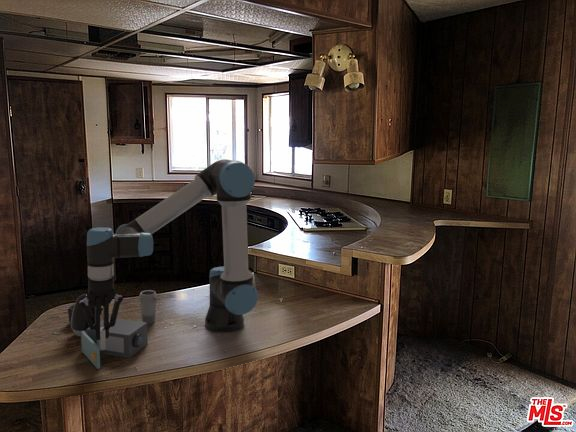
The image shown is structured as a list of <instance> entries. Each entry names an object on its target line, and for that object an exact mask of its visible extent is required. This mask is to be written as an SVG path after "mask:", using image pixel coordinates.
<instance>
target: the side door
mask: <svg viewBox="0 0 576 432" xmlns="http://www.w3.org/2000/svg"><path fill="white" fill-rule="evenodd" d="M80 344H81V346H80V348H81V351H80V352H82V353H83V354H84V356H86V358H87V359H88V360H89V361H90V362H91V363H92V365H93V366H94V367H95V368H96V369H97V370H99V369H101V356H100V355H101V354H100V348H99V346H98V345H97V344H96V343H95V342H94V341H93V340H92V339H91V338H90V337H89V336H88V335H87V334H86V333H85V331H81V337H80Z"/></svg>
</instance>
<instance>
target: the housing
mask: <svg viewBox="0 0 576 432" xmlns="http://www.w3.org/2000/svg"><path fill="white" fill-rule="evenodd" d="M110 318H111V316H109V322H110ZM94 325H95V324H94ZM101 327H104V318H103V319H101V321H100V328H101ZM86 332H87V335H88V336H89V337H90V338H91V339H92V340H93V341H94V342H95V343H96V344H97V345H98V346H99V340H97V339H96V335H95V330H90V327H89V328H87V329H86ZM148 344H149V342H148V324H147V323H146V322H143V321H139V320H138V321H137V320H131V319H124V318H116V322H115V326H113V327H110V328H109V338H106V350H100V355H106V356H107V355H108V356H112V357H119V358H125V359H131V358H132V357H133V356H135V355H136V354H138V352H140V351H141V350H142V349H144V348H145V347H146V346H147V345H148ZM99 348H100V347H99Z"/></svg>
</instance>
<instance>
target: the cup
mask: <svg viewBox="0 0 576 432" xmlns="http://www.w3.org/2000/svg"><path fill="white" fill-rule="evenodd" d="M138 297H139V298H140V300H139V301H140V312H141V314H140V315H141V320H142V321H141V322H146V323H147V325H152V324H155V322H156V321H155V320H156V313H157V312H156V311H157V297H158V293H156V291H155V290H152V289H151V290H150V289H149V290H143V291H141V292H140V293H139V296H138Z"/></svg>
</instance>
